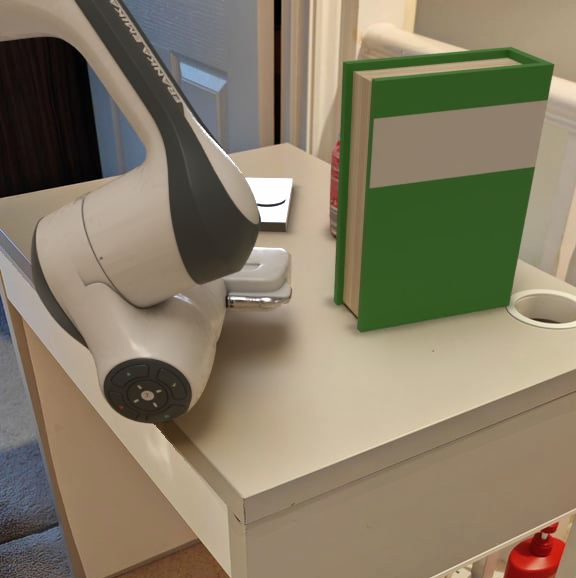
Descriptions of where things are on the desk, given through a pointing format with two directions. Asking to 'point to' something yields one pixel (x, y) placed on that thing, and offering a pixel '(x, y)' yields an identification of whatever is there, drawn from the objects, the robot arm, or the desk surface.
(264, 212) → the hob
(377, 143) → the hardback book
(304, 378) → the desk surface
